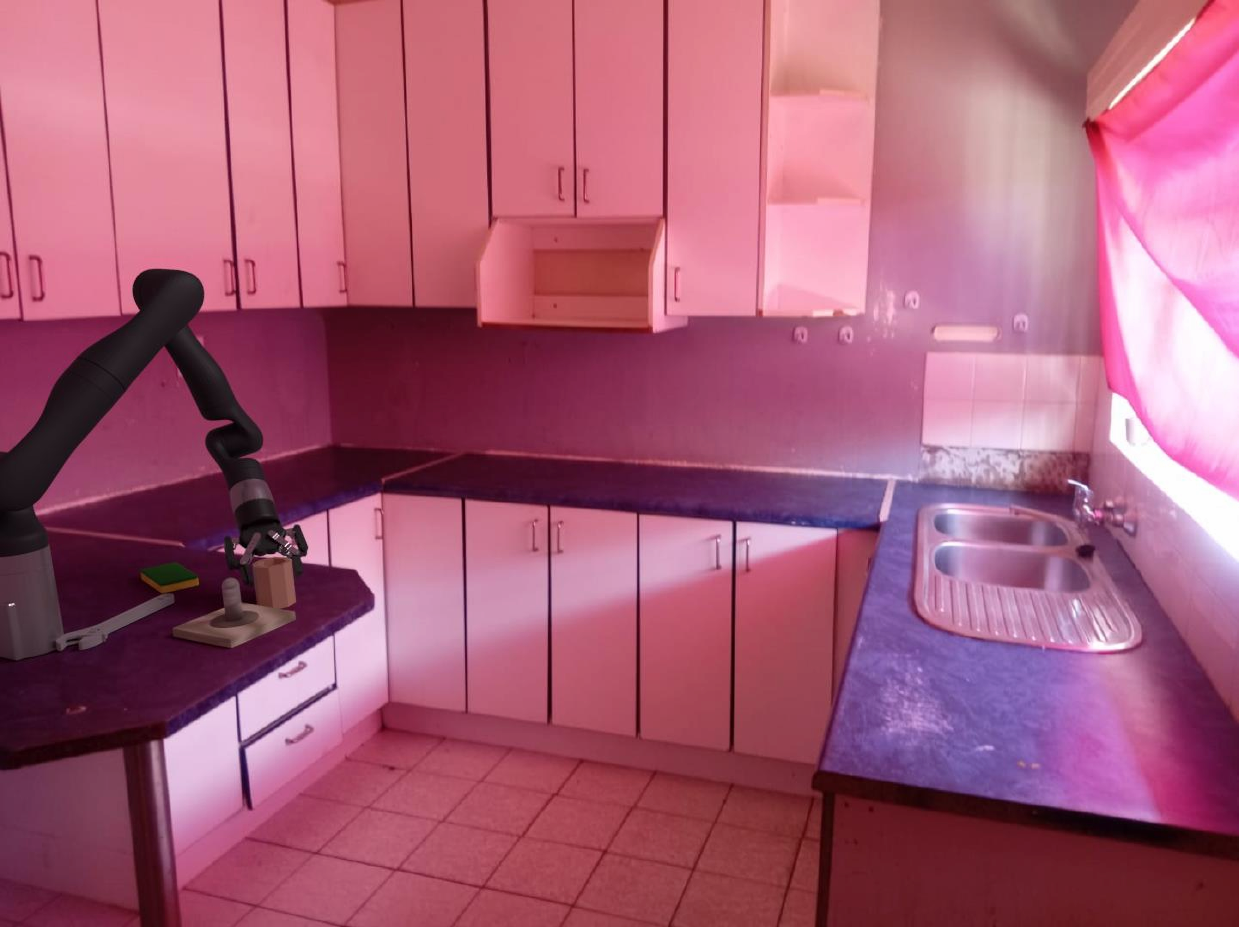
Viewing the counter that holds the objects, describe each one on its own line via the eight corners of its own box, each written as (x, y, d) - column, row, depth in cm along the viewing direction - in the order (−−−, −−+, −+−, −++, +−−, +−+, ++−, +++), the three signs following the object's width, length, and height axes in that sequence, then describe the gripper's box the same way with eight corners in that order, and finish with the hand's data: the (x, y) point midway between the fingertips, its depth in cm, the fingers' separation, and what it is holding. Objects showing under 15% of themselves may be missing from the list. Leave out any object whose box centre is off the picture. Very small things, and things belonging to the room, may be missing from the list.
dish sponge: (177, 572, 202) (176, 561, 201) (199, 587, 191) (198, 575, 191) (141, 580, 197) (139, 569, 197) (162, 595, 187) (160, 583, 186)
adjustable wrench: (165, 600, 182) (164, 591, 182) (192, 604, 180) (192, 595, 180) (49, 649, 159) (48, 639, 159) (79, 654, 157) (78, 644, 157)
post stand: (231, 648, 157) (224, 595, 155) (173, 636, 163) (166, 585, 161) (295, 619, 169) (290, 570, 167) (239, 609, 175) (233, 562, 174)
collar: (262, 612, 173) (257, 569, 172) (254, 602, 179) (249, 561, 177) (298, 604, 177) (294, 562, 175) (290, 595, 182) (285, 555, 181)
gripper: (215, 503, 177) (235, 577, 169) (294, 491, 184) (317, 562, 177) (213, 525, 182) (233, 598, 175) (290, 513, 190) (312, 582, 182)
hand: (275, 580), depth 176 cm, fingers open, 8 cm apart
